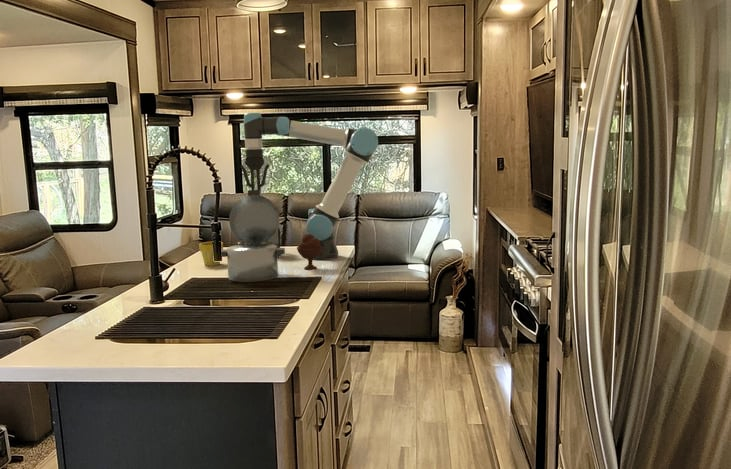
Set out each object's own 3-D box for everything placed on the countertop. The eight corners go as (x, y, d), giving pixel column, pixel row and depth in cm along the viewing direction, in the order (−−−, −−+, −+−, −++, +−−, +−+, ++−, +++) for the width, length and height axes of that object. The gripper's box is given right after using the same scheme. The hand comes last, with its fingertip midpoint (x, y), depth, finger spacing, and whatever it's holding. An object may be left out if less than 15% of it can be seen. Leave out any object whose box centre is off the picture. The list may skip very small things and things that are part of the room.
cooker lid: (279, 244, 260) (280, 245, 263) (278, 189, 262) (279, 190, 266) (229, 246, 258) (231, 247, 262) (228, 190, 261) (230, 192, 265)
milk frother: (278, 257, 292) (276, 226, 290) (245, 258, 292) (243, 227, 290) (282, 252, 306) (281, 223, 304) (251, 253, 306) (249, 223, 304)
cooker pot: (286, 270, 261) (285, 242, 259) (283, 280, 241) (282, 250, 240) (225, 272, 260) (223, 244, 258) (216, 283, 240) (215, 252, 238)
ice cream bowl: (293, 270, 260) (291, 235, 258) (305, 265, 270) (304, 231, 268) (315, 271, 256) (314, 236, 254) (327, 266, 266) (326, 232, 264)
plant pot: (220, 266, 274) (219, 244, 272) (197, 266, 274) (196, 245, 273) (226, 262, 284) (225, 241, 283) (204, 262, 284) (202, 241, 283)
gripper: (269, 148, 273) (272, 201, 276) (240, 149, 272) (243, 202, 276) (268, 148, 265) (270, 202, 269) (237, 149, 265) (240, 203, 268)
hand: (256, 202), depth 272 cm, fingers closed
